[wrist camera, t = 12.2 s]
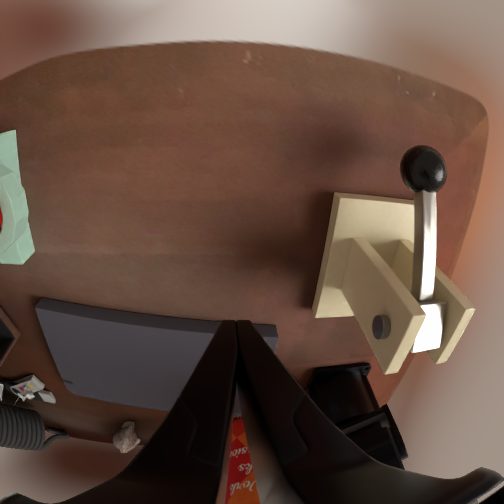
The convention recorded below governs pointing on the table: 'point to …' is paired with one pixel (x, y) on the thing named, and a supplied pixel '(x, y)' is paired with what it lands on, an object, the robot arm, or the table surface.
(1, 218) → the button
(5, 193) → the control box
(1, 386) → the building blocks
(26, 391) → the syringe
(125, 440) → the seashell
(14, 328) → the letter holder
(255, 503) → the coffee cup
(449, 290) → the bracket
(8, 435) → the coil
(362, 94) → the table surface
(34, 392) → the usb flash drive
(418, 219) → the lever
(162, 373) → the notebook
